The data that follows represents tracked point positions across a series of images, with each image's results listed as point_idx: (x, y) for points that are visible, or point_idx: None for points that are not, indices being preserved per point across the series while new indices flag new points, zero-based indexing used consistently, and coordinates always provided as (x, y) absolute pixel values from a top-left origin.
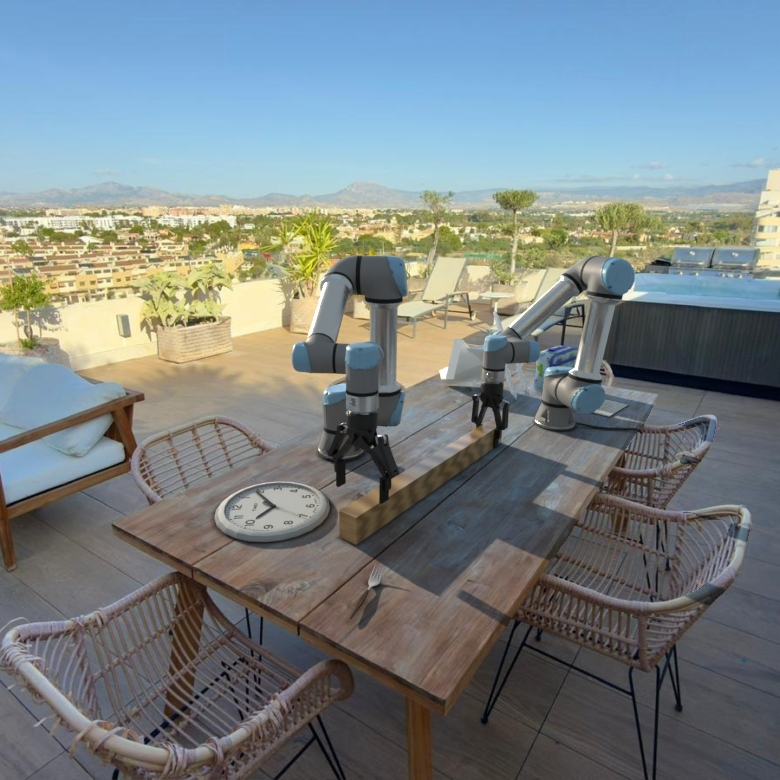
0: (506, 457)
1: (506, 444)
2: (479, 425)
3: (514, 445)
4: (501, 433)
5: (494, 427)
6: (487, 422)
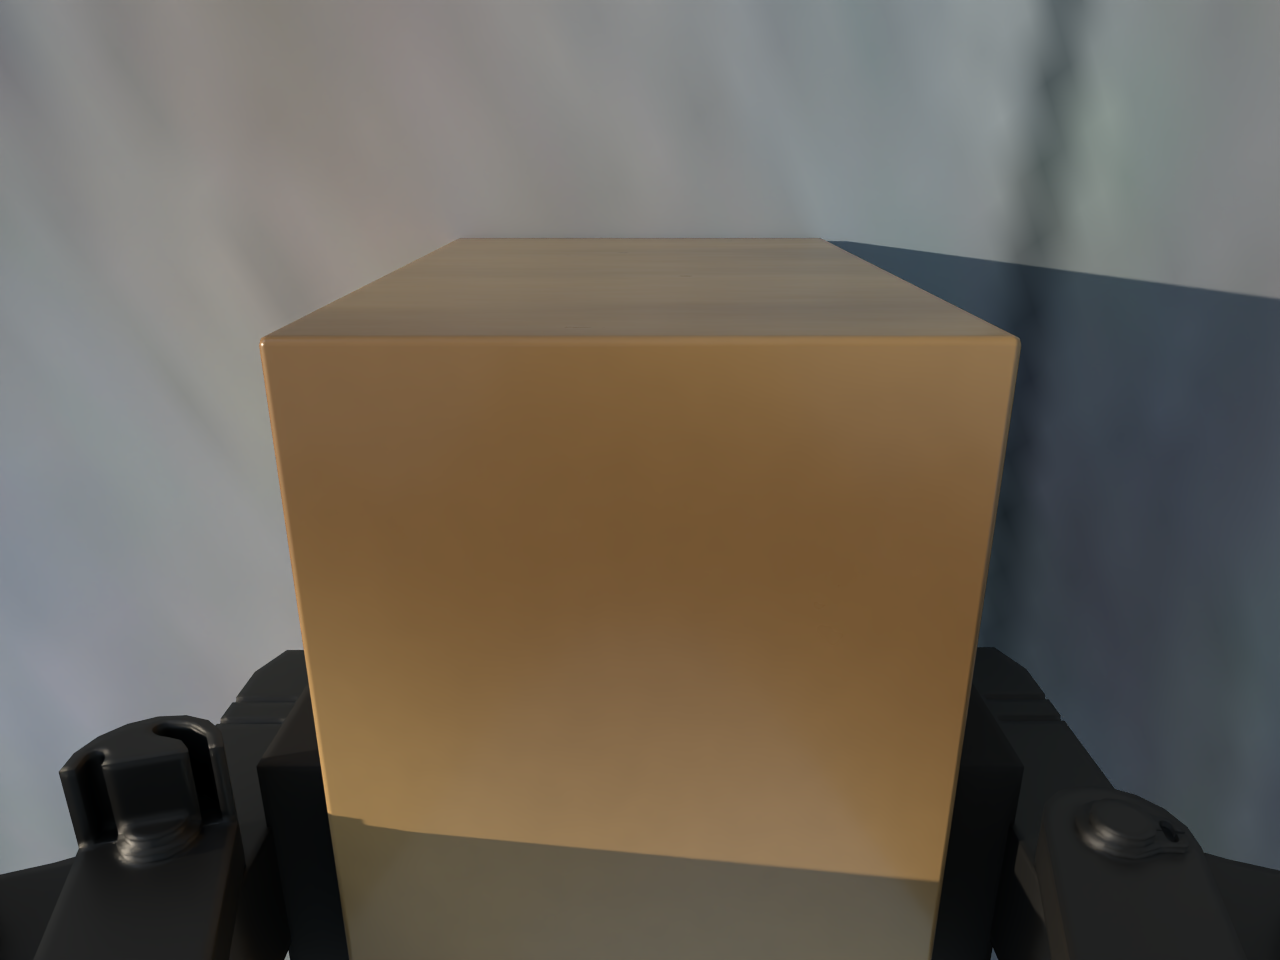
0: (1148, 799)
1: (961, 231)
2: (292, 930)
3: (1151, 161)
4: (1072, 751)
5: (870, 922)
6: (385, 648)
